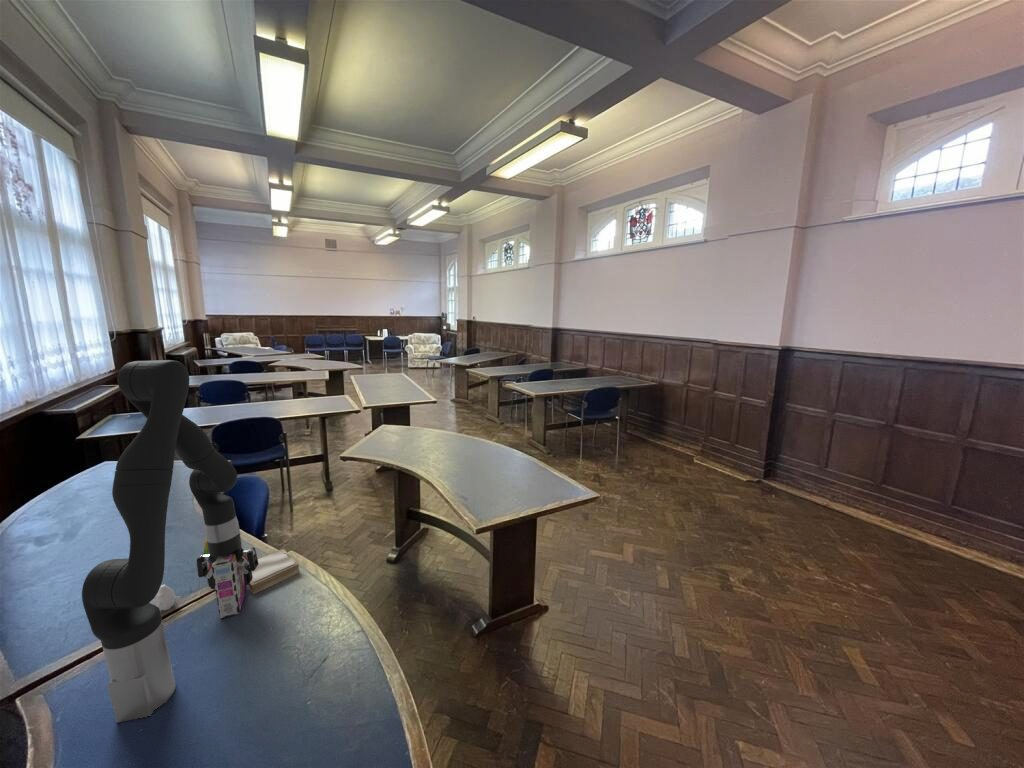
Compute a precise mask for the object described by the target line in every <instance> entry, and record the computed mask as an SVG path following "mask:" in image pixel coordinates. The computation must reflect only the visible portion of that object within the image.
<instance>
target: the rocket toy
mask: <svg viewBox="0 0 1024 768" xmlns="http://www.w3.org/2000/svg"><path fill="white" fill-rule="evenodd" d="M175 594H176V593H175V589H174V588H173V589H172V588H171V587H170V586H167V585H166V584H164V583H161V586H160V589H159V591H158V593H157V595H156V596H155V598H154V599H153V600H152V601H150V602H149V603H150V604H153V605H155V606H157V607H158V608H159V610H160V611H168V610H171V608H172V606H173V605H174V604H175V601H177V602H176V606H177V607H178V606H179V604H180V602H181V601H180V600H181V598H182V596H180V595H177V596H176V595H175Z"/></svg>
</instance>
